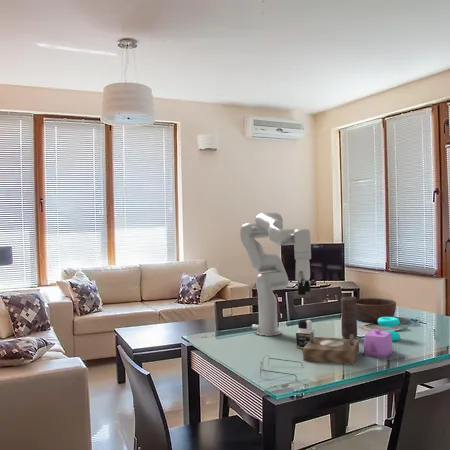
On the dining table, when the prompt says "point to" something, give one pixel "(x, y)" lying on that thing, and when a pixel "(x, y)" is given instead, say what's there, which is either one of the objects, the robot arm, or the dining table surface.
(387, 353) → the teapot
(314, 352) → the stand
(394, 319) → the donuts
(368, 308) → the wooden bowl
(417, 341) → the dining table surface
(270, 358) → the eyeglasses
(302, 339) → the medicine bottle
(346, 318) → the brown rusty cylinder
